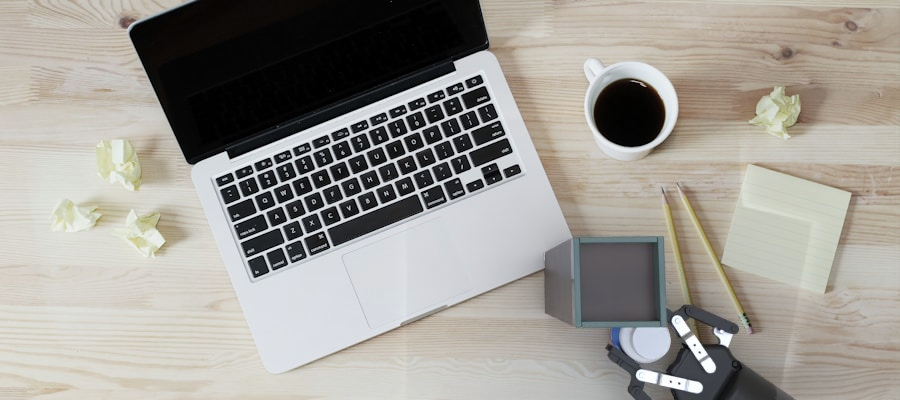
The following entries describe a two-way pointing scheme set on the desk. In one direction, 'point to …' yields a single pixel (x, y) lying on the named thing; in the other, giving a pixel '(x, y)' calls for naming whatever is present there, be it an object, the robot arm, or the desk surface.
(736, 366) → the robot arm
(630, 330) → the pill bottle
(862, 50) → the desk surface
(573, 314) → the socket
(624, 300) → the stand
